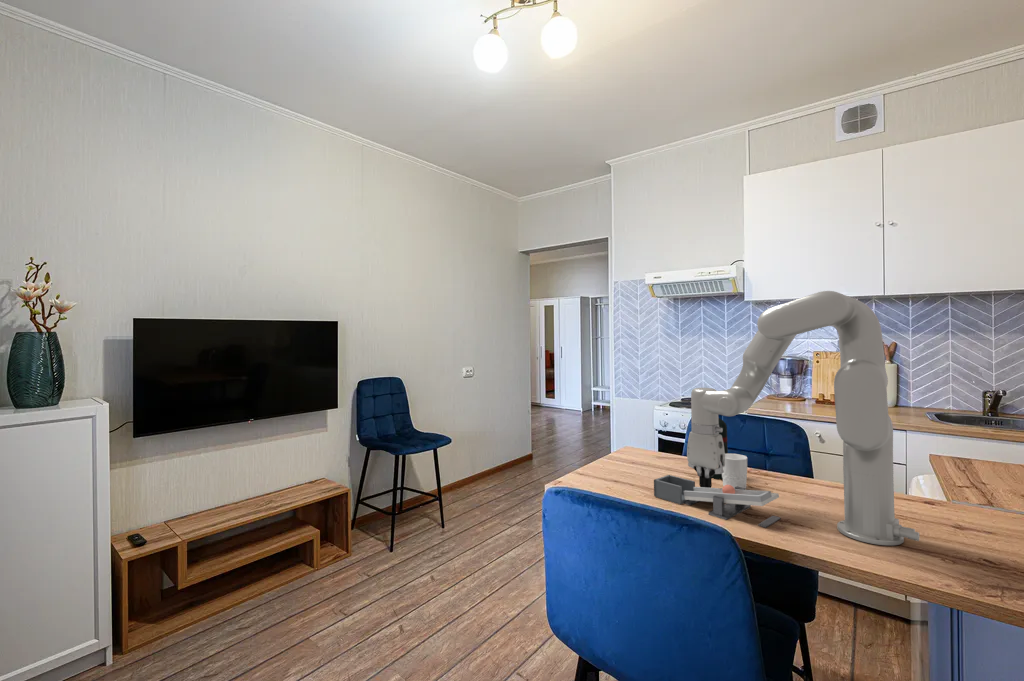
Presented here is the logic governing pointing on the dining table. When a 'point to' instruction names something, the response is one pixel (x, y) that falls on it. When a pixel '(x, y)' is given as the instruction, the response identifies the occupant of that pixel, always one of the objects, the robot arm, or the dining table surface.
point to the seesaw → (732, 496)
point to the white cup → (735, 470)
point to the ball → (728, 489)
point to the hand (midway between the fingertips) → (705, 489)
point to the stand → (732, 510)
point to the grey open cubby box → (672, 488)
